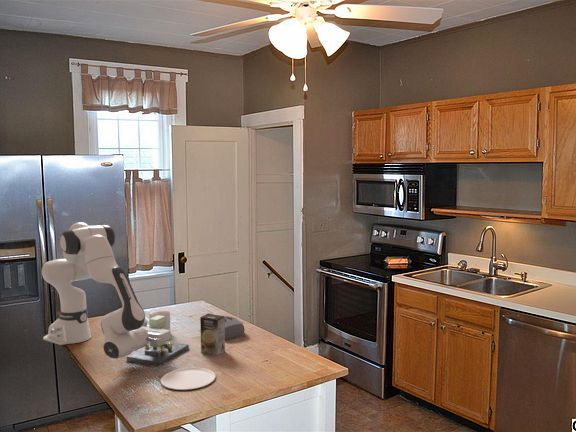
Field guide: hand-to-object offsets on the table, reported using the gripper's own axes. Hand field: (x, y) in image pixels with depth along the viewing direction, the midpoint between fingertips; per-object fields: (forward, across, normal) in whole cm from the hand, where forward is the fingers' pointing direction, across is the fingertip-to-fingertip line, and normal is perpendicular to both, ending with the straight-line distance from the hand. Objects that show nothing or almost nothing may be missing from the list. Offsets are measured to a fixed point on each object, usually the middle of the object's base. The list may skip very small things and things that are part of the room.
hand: (159, 328), depth 228 cm
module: (-1, 0, +7) cm, 7 cm away
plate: (-18, -27, +12) cm, 34 cm away
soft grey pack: (+35, -12, +12) cm, 39 cm away
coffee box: (+11, -20, +12) cm, 26 cm away
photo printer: (+21, +16, +12) cm, 29 cm away
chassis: (-1, 0, +12) cm, 12 cm away
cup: (+13, +24, +12) cm, 30 cm away
